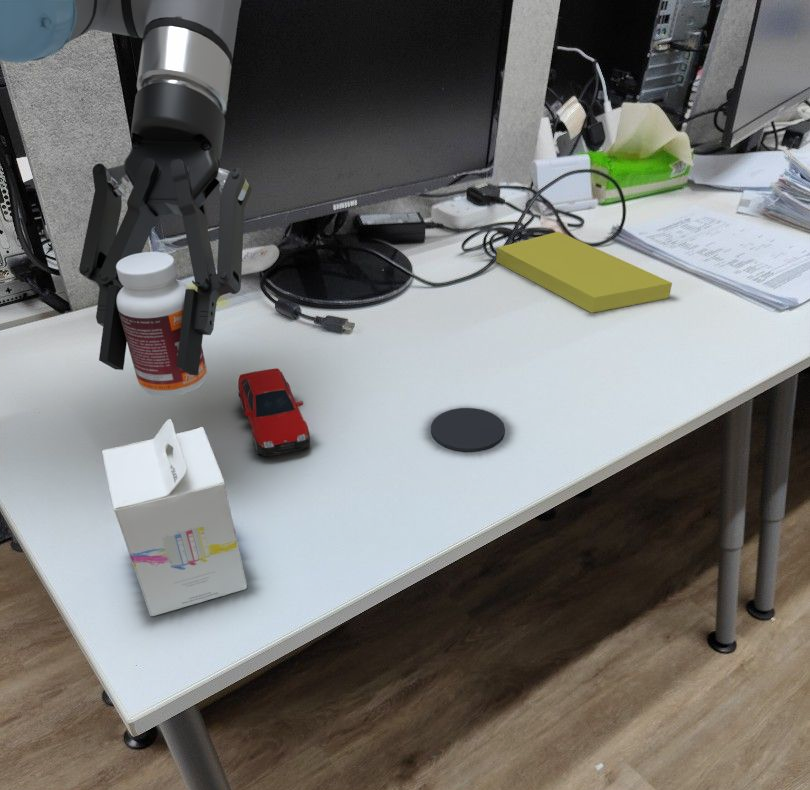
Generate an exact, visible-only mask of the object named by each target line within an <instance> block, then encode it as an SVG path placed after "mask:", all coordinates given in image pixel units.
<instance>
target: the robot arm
mask: <svg viewBox="0 0 810 790" xmlns="http://www.w3.org/2000/svg"><path fill="white" fill-rule="evenodd" d="M241 6H242V0H0V61H1V62H5V63H15V64H19V63H21V64H22V63H27V62H33V61H39V60H40V61H41V60H44V59H46V58H47V57H49V56H53V55H55V54H56V53H57V52H59V51H60V50H61V49H63V48H64V47H65V45H67V44H68V43H70V42H71V41H73V40H75V39H77V38H79V37H81V36H83V35H84V34H86V33H88V32H89V31H99V32H104V33H109V34H115V35H122V36H127V37H132V38H135V39H142V43H141V50H140V57H139V58H140V59H139V65H138V72H137V80H136V89H137V92H136V94H135V97H134V105H133V114H132V121H131V129H130V137H131V148H130V151H129V153H128V155H127V157H126V158H125V160H124V163H123V164H121V165H118V166H113V167H109V168H107V167H106V166H105V165H104V164H103V163H97V164H95V165H94V166H93V167H92V179H93V186H94V193H93V198H92V205H91V207H90V208H91V209H90V212H89V218H88V223H87V228H86V231H85V237H84V243H83V247H82V253H81V257H80V262H79V267H78V271H79V273H80V274H81V275H82V276H83V277H84V278H86V279H87V280H88V281H90V282H91V283H92V284H93V285H95V286H97V287H98V288H99V290H98V298H97V307H96V312H95V313H96V314H95V319H96V323H97V324H98V325H99V326H101V327H102V334H101V342H100V347H99V348H100V349H99V355H98V356H99V357H98V361H99V362H100V363H102V364H105V365H106V366H108V367H110V368H111V369H113V370H119V371H124V368H125V360H126V351H127V346H128V344H127V340H126V336H125V333H124V329H123V326H122V322H121V318H120V315H119V312H118V307H117V295H118V293H119V291H120V290H121V289H122V288H123V287H124V286H123V285H122V284H121V282H120V281H119V278H118V273H117V269H116V265H117V263H118V262H119V261H120V260H121V259H123V258H125V257H127V256H130V255H133V254H138V253H143V252H144V251H143V250H144V248H145V246H146V243H147V241H148V239H149V237H150V235H151V233H152V230H153V228H155V227H157V226H158V225H159V223H160V221H161V218H162V216H168V215H173V214H175V215H178V216H181V217H182V221H183V226H184V231H185V237H186V242H187V247H188V252H189V257H190V258H189V259H190V263H191V267H192V273H193V279H194V280H191V282H192V284H193V285H194V286H195V287H196V288H197V289H195V288H194V289H193V288H188V289H186V291H185V299H184V307H183V315H182V323H181V332H180V340H179V348H178V356H177V364H176V366H178V367H179V368H181V369H182V370H184V371H185V372H186V373H188V374H189V375H198V372H199V364H200V355H201V347H202V348H203V339H204V336H211V335H212V334H213V332H214V327H215V318H216V310H217V304H218V300H219V299H220V297H221V296H224V295H227V294H231V295H236V294H238V293H239V292H240V291H241V287H242V270H243V269H242V268H243V249H244V248H243V247H244V226H245V225H244V224H245V209H246V207H247V204H248V201H249V199H250V196H251V194H252V192H253V187H252V185H251V183H250V182H249V180H248V179H247V177H246V176H245V174H244V173H243V171H242V170H241V168H238V167H233V168H231V169H230V170H228V169H225V168H222V165H221V162H220V159H221V158H222V152H223V145H224V138H225V137H224V136H225V129H226V128H225V127H226V119H225V116H226V113H227V109H228V101H229V91H230V83H231V75H232V67H233V58H234V52H235V45H236V44H235V43H236V36H237V28H238V22H239V15H240V10H241V9H240V8H241ZM128 183H130V184H131V185H132V189H131V192H130V193H129V196H128V198H127V200H126V207H127V210H126V212H125V214H124V216H123V219H122V221H121V223H119V222H120V218H121V213H122V207H123V205H122V204H123V199H122V197H125V196H126V195H127V191H126V187H127V184H128ZM217 188H218V191H219V193H220V200H219V201H220V202H219V221H218V242H217V244H218V245H217V263H216V264H217V265H216V264H215V259H214V254H213V249H212V244H211V239H210V233H209V228H208V225H209V220H208V214H207V209H206V205H205V204H206V201H207V200H208V199H209V198H210V197H211V195H212V194H213V193H214V192H215V191H216V189H217ZM119 224H120V225H119Z"/></svg>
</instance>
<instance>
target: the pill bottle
mask: <svg viewBox="0 0 810 790" xmlns="http://www.w3.org/2000/svg"><path fill="white" fill-rule="evenodd" d="M116 269H117V273H118V278H119V281H120V282H121V284H122V285H123V286H124V287H123V288H122V289H121V290H120V291H119V293H118V295H117V307H118V312H119V315H120V318H121V322H122V326H123V329H124V333H125V336H126V340H127V347H128V351H129V355H130V357H131V358H130V359H131V363H132V365H133V368H134V372H135V377H136V379H137V382H138V385H139V388H141V389H142V390H143V391H144V392H145V393H147V394H149V395H152V396H156V397H176V396H181V395H184V394H188V393H191V392H193V391H196V390H197V389H198V388H200V387H201V386H202V385H203V384H204V383H205V381H206V379H207V377H208V371H207V364H206V359H205V354H204V349H203V346H202V347H201V355H200V364H199V372H198V375H189V374H188V373H186V372H185V371H184V370H182V369H181V368H179V367H178V366H176V364H177V356H178V348H179V340H180V332H181V323H182V315H183V307H184V299H185V291H186V289H189V286H188V285H187V284H185V283H184V282H183V281H181V280H180V279H177V278H178V269H177V265H176V262H175V258H174V257H173V256H172V254H171V255H170V254H169V253H167V252H161V251H145V252H144V251H143V252H142V253H138V254H133V255H130V256H127V257H125V258H123V259H121V260H120V261H119V262H118V263H117V265H116Z"/></svg>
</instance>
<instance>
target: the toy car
mask: <svg viewBox="0 0 810 790" xmlns="http://www.w3.org/2000/svg"><path fill="white" fill-rule="evenodd" d="M237 389H238V397H239V400H240V405H241V410H242V414H243V415H244V416H245V417H247V419H248V422H249V425H250V428H251V431H252V437H253V442H254V446H255V451H256V455H261V456H264V457H267V456H268V457H269V456H277V455H282V454H287V453H293V452H296V451H300V450H304V449H307V448H309V447H310V446H311V436H310V431H309V426H308V424H307V422H306V421H305V420H304V417H303V415H302V413H301V410H300V408H299V407H301V406H304V401H303V400H300V401H297V400H296V399H295V397H294V394H293V392H292V389H291V386H290V384H289V382H288V381H287V380H286V377H285V375H284V373H283V372H282V371H281V370H280V369H279V368H277V367H275V368H269V369H262V370H257V371H251V372H246V373H243V374H240V375H239V376H238V379H237ZM296 401H297V402H296Z"/></svg>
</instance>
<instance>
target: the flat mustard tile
mask: <svg viewBox="0 0 810 790" xmlns="http://www.w3.org/2000/svg"><path fill="white" fill-rule="evenodd" d="M495 261H496V263H498V264H500V265H501V266H503V267H505V268H507V269H508V270H510V271H512V272H514V273H516V274H518V275H520V276H522V277H524V278H525V279H527V280H529V281H531V282H533V283H535V284H537V285H539V286H540V287H543V288H544V289H546V290H548V291H550V292H551V293H554V294H555V295H557V296H559V297H561V298H563V299H565V300H566V301H568V302H571V303H572V304H574V305H576V306H578V307H580V308H582V309H583V310H585V311H587V312H589V313H591V314H593V313H599V312H604V311H609V310H615V309H619V308H625V307H629V306H634V305H635V306H636V305H639V304H645V303H651V302H655V301H660V300H661V301H662V300H666V299H670V295H671V290H672V286H673V282H671V281H669V280H668V279H665V278H663V277H660V276H658V275H656V274H655V273H654V274H653V273H652V272H649V271H647V270H645V269H643V268H640V267H638V266H636V265H634V264H632V263H629V262H627V261H625V260H623V259H620V258H618V257H616V256H614V255H612V254H610V253H607V252H605V251H603V250H601V249H599V248H596V247H595V246H592V245H590V244H587V243H585V242H583V241H581V240H579V239H577V238H574V237H572V236H569V235H568V234H566V233H563V232H561V231H556V232H551V233H548V234H543V235H540V236H537V237H532V238H529V239H524V240H522V241H517V242H513V243H510V244H505V245H502V246H497V247H496V260H495Z"/></svg>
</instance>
